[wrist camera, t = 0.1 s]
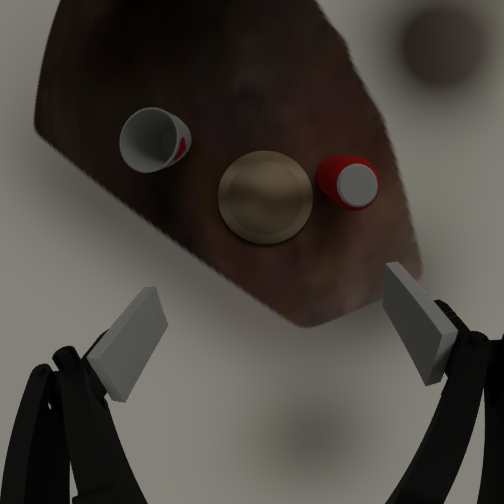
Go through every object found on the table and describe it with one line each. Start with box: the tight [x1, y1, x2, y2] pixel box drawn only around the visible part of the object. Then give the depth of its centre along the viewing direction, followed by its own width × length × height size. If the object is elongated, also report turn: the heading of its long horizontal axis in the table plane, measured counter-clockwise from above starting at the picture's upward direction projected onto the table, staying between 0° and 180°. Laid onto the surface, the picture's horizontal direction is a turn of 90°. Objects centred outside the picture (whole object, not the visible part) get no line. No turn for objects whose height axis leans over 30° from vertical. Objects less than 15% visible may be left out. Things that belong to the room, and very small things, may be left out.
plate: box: [218, 151, 313, 244], centre depth 40 cm, size 14×14×1 cm
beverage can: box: [317, 155, 379, 211], centre depth 33 cm, size 6×6×12 cm
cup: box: [120, 108, 191, 173], centre depth 34 cm, size 8×8×10 cm
